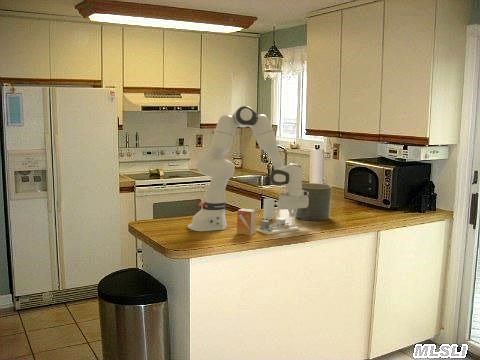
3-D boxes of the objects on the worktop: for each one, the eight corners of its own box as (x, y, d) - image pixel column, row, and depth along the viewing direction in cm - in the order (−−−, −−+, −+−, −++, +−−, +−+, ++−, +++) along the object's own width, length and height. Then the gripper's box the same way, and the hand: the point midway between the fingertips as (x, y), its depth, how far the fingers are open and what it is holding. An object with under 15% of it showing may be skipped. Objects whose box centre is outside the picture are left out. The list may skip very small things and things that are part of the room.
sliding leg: (286, 229, 276) (286, 221, 276) (276, 226, 283) (276, 218, 283) (290, 228, 278) (290, 220, 278) (280, 225, 285) (280, 217, 285)
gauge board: (268, 234, 269) (268, 223, 269) (256, 230, 278) (257, 220, 277) (299, 229, 282) (299, 219, 281) (287, 226, 290) (287, 216, 289)
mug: (261, 219, 307) (262, 199, 305) (264, 217, 313) (265, 198, 312) (277, 220, 304) (278, 201, 302) (280, 218, 310) (281, 199, 308)
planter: (336, 217, 317) (338, 186, 314) (317, 223, 301) (318, 189, 298) (307, 212, 332) (309, 182, 329) (287, 217, 315) (288, 185, 313)
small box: (236, 234, 269) (237, 210, 268) (240, 231, 275) (241, 208, 273) (250, 235, 266) (251, 211, 265) (254, 233, 272) (255, 209, 270)
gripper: (282, 193, 276) (281, 218, 277) (310, 192, 287) (309, 216, 289) (275, 192, 281) (274, 216, 283) (303, 190, 292) (302, 214, 294)
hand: (292, 216), depth 286 cm, fingers closed
